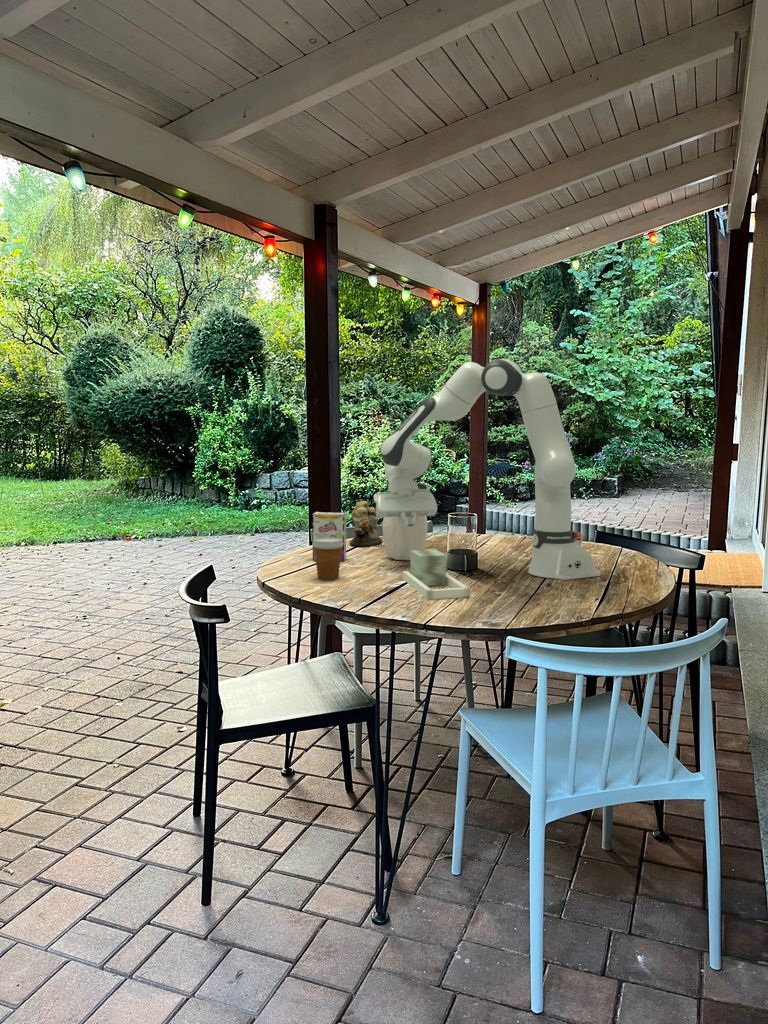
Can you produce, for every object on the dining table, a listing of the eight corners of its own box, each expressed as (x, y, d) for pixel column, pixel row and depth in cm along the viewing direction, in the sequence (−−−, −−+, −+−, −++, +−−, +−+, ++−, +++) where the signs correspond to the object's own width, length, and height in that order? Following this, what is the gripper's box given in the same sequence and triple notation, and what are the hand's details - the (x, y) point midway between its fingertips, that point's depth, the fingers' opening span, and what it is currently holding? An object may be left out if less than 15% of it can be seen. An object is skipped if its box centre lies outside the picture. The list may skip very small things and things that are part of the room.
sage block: (435, 577, 222) (435, 548, 220) (445, 585, 212) (446, 555, 211) (410, 579, 220) (410, 550, 219) (419, 586, 210) (419, 556, 209)
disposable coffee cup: (315, 582, 216) (315, 542, 214) (310, 575, 225) (309, 537, 223) (346, 580, 218) (346, 541, 217) (340, 573, 228) (339, 536, 226)
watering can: (432, 551, 266) (432, 500, 263) (421, 565, 240) (422, 509, 237) (390, 549, 269) (391, 499, 266) (376, 563, 243) (376, 508, 240)
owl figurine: (372, 549, 270) (372, 504, 268) (343, 547, 274) (342, 503, 271) (387, 541, 287) (387, 498, 285) (359, 539, 291) (359, 497, 288)
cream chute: (440, 577, 223) (440, 569, 223) (469, 597, 199) (469, 588, 198) (402, 579, 220) (402, 571, 220) (427, 600, 196) (427, 591, 195)
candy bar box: (312, 561, 247) (311, 513, 245) (315, 558, 252) (314, 511, 250) (344, 561, 246) (344, 514, 244) (346, 559, 251) (346, 512, 249)
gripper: (374, 486, 235) (380, 520, 227) (433, 485, 240) (442, 518, 232) (371, 498, 240) (377, 532, 232) (429, 497, 245) (437, 530, 237)
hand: (410, 525), depth 232 cm, fingers closed
